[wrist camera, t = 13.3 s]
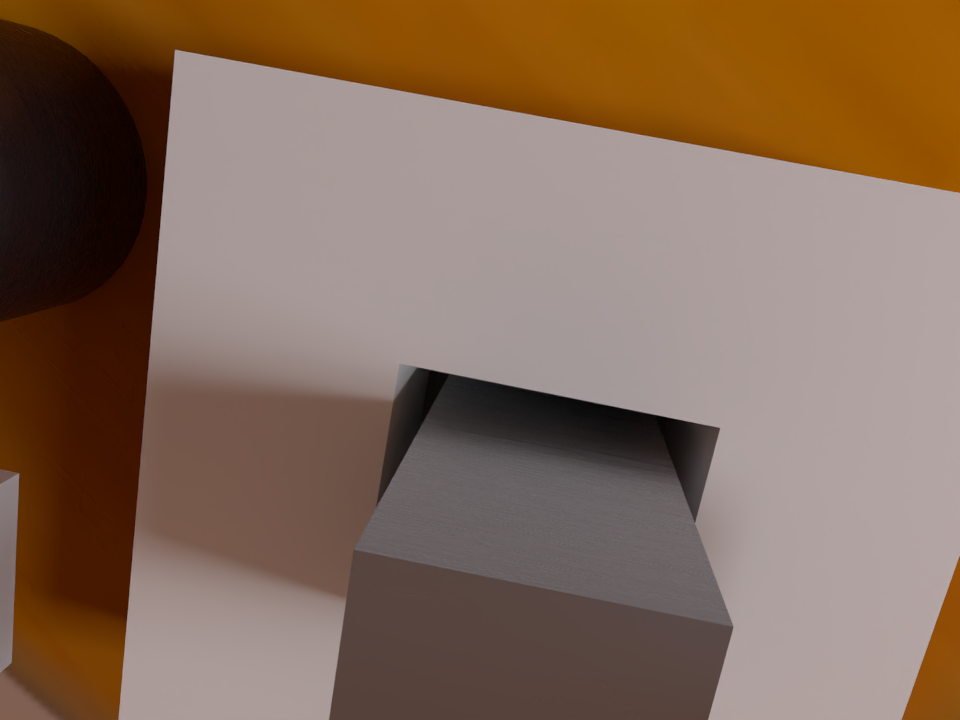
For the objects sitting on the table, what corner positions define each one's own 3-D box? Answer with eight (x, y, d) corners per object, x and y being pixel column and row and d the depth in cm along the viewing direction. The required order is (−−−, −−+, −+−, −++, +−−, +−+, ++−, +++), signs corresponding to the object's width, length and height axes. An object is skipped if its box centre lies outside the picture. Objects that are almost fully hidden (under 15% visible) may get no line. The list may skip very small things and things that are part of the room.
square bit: (463, 347, 18) (353, 549, 9) (642, 381, 18) (734, 626, 8) (436, 511, 19) (308, 858, 10) (605, 545, 19) (649, 935, 9)
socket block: (280, 82, 18) (175, 50, 13) (933, 201, 17) (1080, 215, 12) (215, 645, 21) (113, 786, 16) (758, 765, 20) (819, 951, 16)
